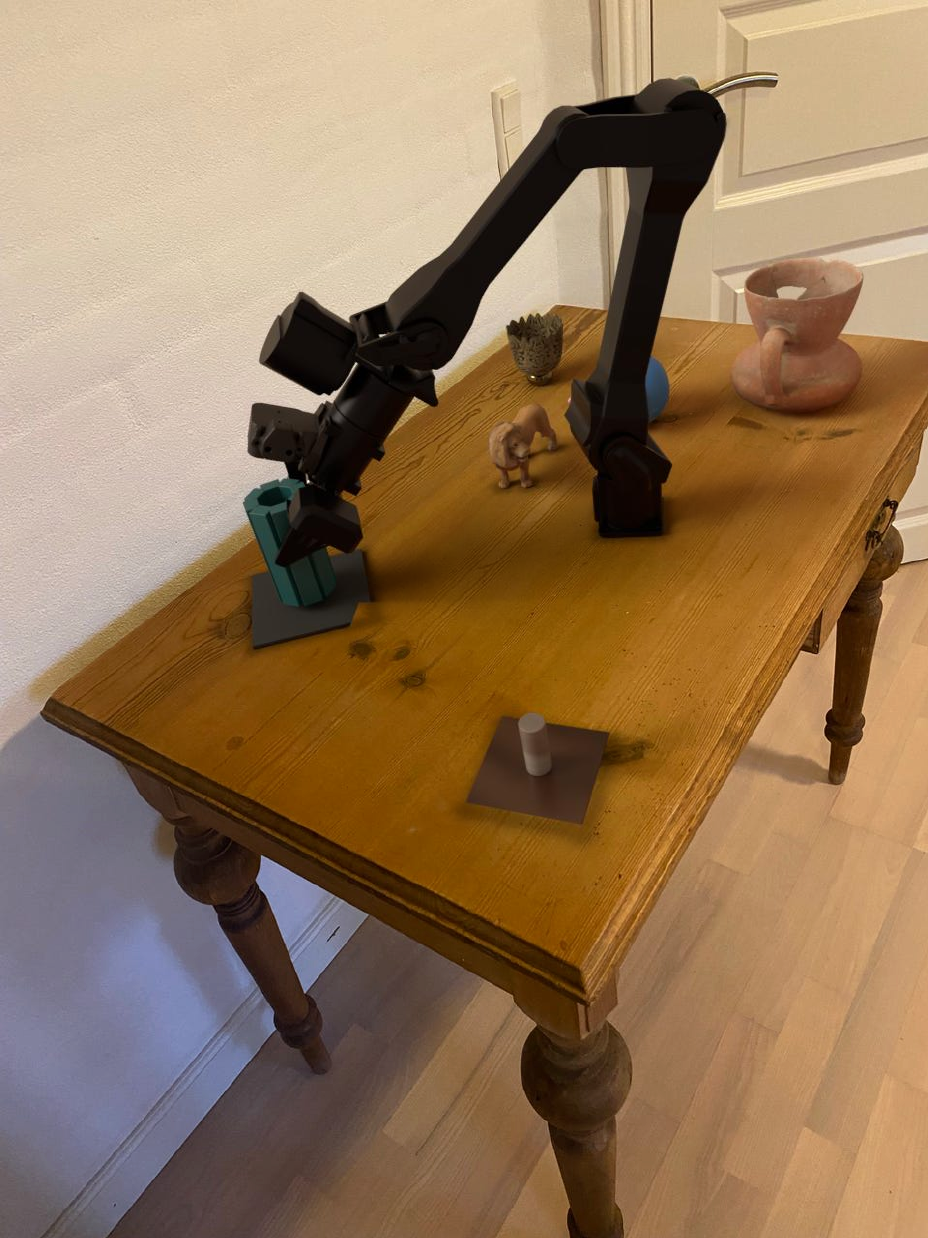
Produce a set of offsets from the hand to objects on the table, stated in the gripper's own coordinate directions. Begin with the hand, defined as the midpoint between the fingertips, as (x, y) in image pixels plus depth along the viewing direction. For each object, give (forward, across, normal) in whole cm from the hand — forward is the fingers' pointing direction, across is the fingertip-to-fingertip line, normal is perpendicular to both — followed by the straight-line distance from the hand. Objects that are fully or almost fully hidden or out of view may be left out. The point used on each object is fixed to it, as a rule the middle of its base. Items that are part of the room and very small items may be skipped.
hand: (278, 545), depth 87 cm
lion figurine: (-14, -14, +25) cm, 32 cm away
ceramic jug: (-38, -16, +48) cm, 63 cm away
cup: (-20, -36, +30) cm, 50 cm away
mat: (+4, 0, +6) cm, 7 cm away
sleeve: (+3, 0, +5) cm, 6 cm away
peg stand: (-8, +30, +18) cm, 35 cm away
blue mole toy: (-24, -19, +34) cm, 46 cm away
